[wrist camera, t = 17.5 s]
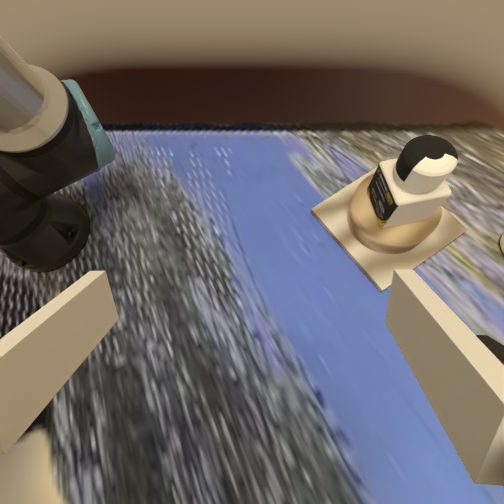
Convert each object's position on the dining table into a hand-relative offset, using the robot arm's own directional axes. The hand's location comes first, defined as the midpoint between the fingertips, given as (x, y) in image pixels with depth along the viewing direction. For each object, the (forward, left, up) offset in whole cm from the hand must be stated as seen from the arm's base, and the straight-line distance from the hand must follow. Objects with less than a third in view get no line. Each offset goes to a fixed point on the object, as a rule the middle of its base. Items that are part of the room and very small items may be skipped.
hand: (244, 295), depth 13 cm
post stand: (-6, +28, -33) cm, 44 cm away
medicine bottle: (-6, +28, -28) cm, 40 cm away
